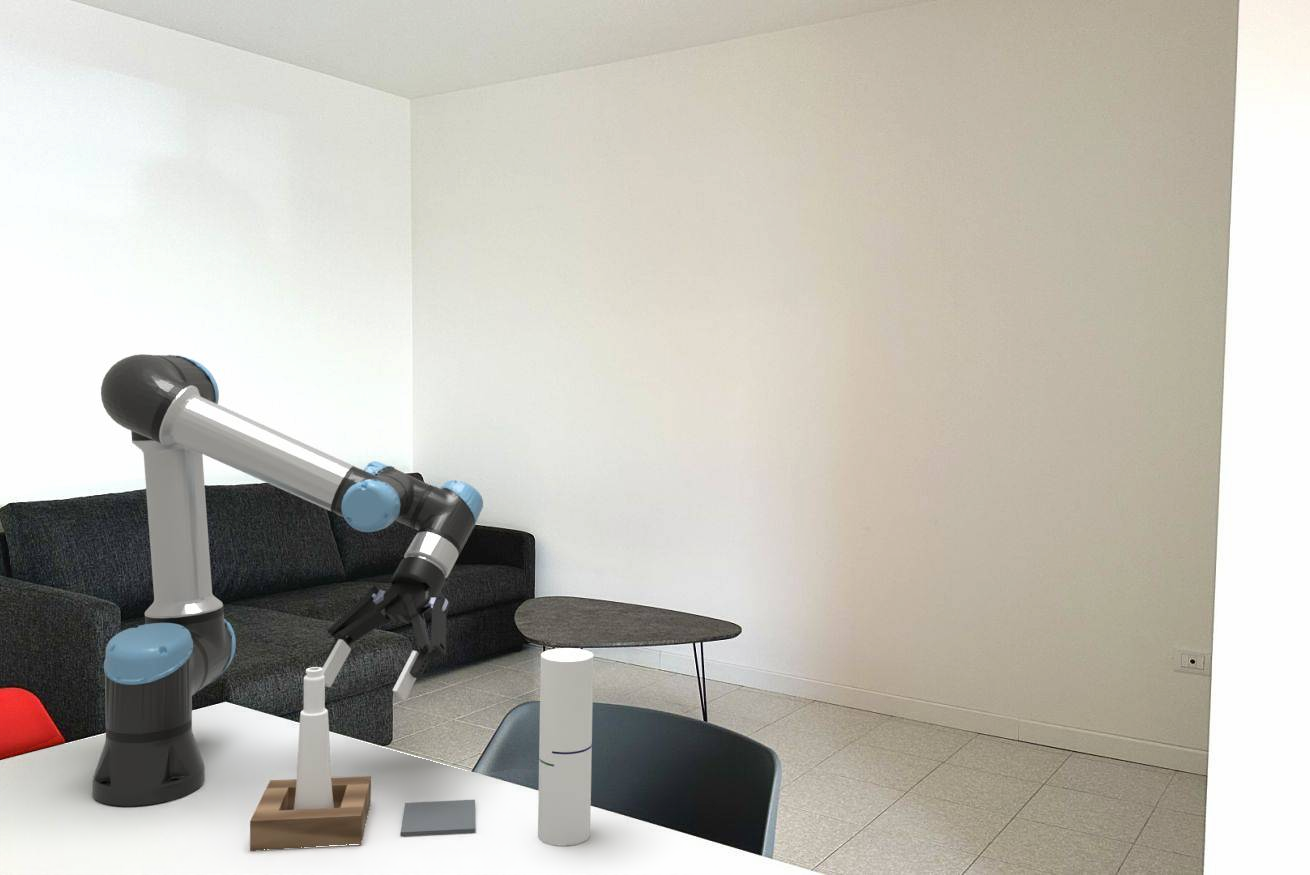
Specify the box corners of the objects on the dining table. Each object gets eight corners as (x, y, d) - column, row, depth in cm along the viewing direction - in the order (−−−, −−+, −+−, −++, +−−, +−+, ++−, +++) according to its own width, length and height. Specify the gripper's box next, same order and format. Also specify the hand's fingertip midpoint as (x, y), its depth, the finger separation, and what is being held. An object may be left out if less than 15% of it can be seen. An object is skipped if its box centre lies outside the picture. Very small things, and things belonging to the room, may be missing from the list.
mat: (405, 806, 153) (405, 802, 153) (475, 803, 155) (475, 799, 155) (400, 836, 143) (400, 832, 143) (475, 832, 145) (475, 828, 145)
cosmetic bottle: (317, 838, 142) (317, 677, 141) (281, 830, 144) (281, 671, 143) (345, 821, 148) (346, 666, 146) (310, 813, 150) (311, 660, 149)
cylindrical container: (582, 848, 141) (585, 663, 139) (531, 842, 142) (533, 659, 141) (595, 826, 148) (599, 650, 146) (546, 821, 149) (549, 646, 148)
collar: (270, 807, 152) (270, 780, 151) (370, 802, 154) (370, 776, 154) (250, 851, 138) (250, 821, 138) (360, 845, 140) (361, 815, 140)
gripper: (502, 590, 162) (443, 714, 149) (372, 574, 172) (306, 689, 160) (482, 561, 157) (420, 687, 144) (350, 547, 167) (280, 663, 155)
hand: (360, 689), depth 152 cm, fingers open, 13 cm apart
